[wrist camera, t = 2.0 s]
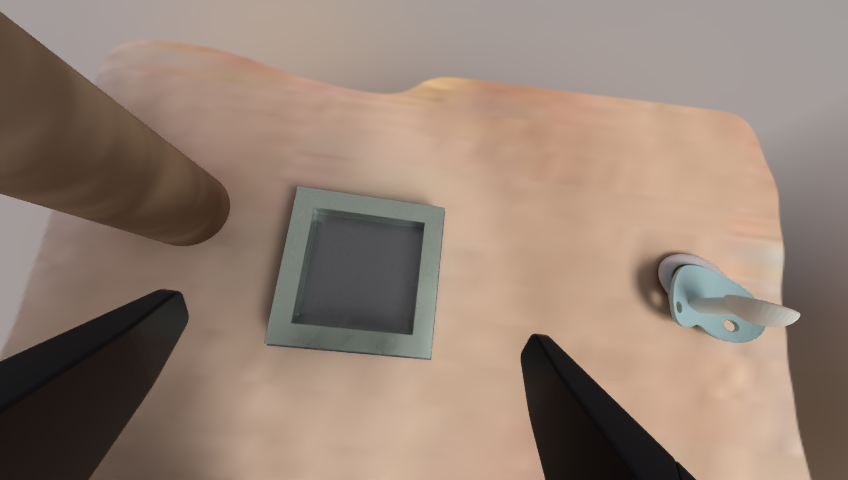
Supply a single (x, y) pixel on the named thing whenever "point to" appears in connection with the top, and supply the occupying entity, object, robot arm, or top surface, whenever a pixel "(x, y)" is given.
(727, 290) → the pacifier
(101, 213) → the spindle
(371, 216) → the green square tray
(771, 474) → the top surface
